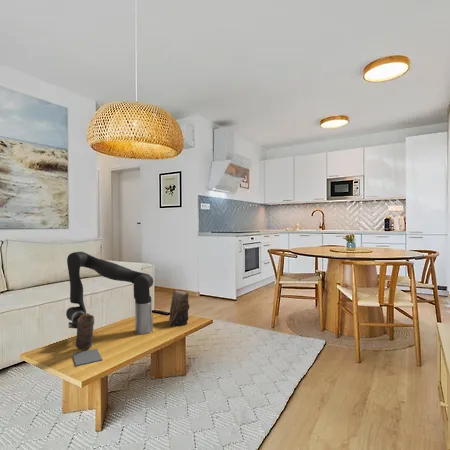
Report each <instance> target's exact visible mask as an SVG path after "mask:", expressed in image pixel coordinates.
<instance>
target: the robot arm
mask: <svg viewBox="0 0 450 450" xmlns="http://www.w3.org/2000/svg"><path fill="white" fill-rule="evenodd" d="M66 263H67V271H68V278H69V286H70V287H69V289H70V290H69V293H70V294H69V302H70V303H71V304H74V305H75V304H77V305H79V306H72V307H68V308H67V310H66V313H65V316H66V318H67V319H68V328H69V329H76V330H77V325H78V318H79V317H80V316H81V315H83V314H86V313H87V309H86V306H85V303H84V286H83V283H82V280H81V276H80V275H81V274H80V271H81V268H85V269H86V268H87V269H90V270H93V271H95V272H96V273H97V274H98V275H100V276H102V277H103V278H106V279H110V280H112V281H119V282H127V283H132V284H133V298H134V303H135V304H134V308H135V309H134V315H135V318H134V319H135V321H134V323H135V326H134V327H135V329H134V332H135V334H138V335H146V334H149V333H151V332H154V331H153V330H154V327H153V326H154V319H153V318H154V316H153V314H152V312H153V311H152V310H153V309H152V307H153V306H152V303H153V301H152V296H151V295H150V288H151V287H153V285H154V278H153V277H152V276H151V275H150V274H149V273H144V272H140V271H136V270H133V269H130V268H128V267H125V266H123V265H119V264H117V263H114V262H112V261H108V260H105V259H103V258H101V259H100V258H97V257H95V256H93V255H91V254H88V253H87V252H84V251H73V252H71V253H69V254H68V255H67V258H66Z"/></svg>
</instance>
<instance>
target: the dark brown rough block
mask: <svg viewBox="0 0 450 450" xmlns="http://www.w3.org/2000/svg"><path fill="white" fill-rule="evenodd" d="M189 295H190V294H189V292H187V291H186V290H184V291H182V290H181V291H180V290H177V289H173V294H172V298H171V303H170V310H169V318H168V319H169V320H168V322H169V325H168V326H169V327H179V326H180V327H181V326H187V325H188V321H189V310H190V304H189Z"/></svg>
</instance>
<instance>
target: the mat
mask: <svg viewBox="0 0 450 450" xmlns="http://www.w3.org/2000/svg"><path fill="white" fill-rule="evenodd" d="M72 357H73V360H74V361H73V362H74V364H75V367H80V366H85V365H88V364H93V363H97V362H102V361H103V358H102V355H101V354H100V352H99V350H98V348H94V349H93V348H92V349H89V350H88V349H87V350H82V351H78V352H73V353H72Z"/></svg>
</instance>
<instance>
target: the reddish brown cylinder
mask: <svg viewBox="0 0 450 450" xmlns="http://www.w3.org/2000/svg"><path fill="white" fill-rule="evenodd" d="M94 324H95V316H94V315H93V314H90V313H87V312H86V314H83V315H81V316H80V317H79V318H78V325H77V329H76V338H75V339H76V342H75V343H76V344H75V346H76V348H77V349H78V350H81V351H88V349H89V350H90V348H92V346H93V337H94Z"/></svg>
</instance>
